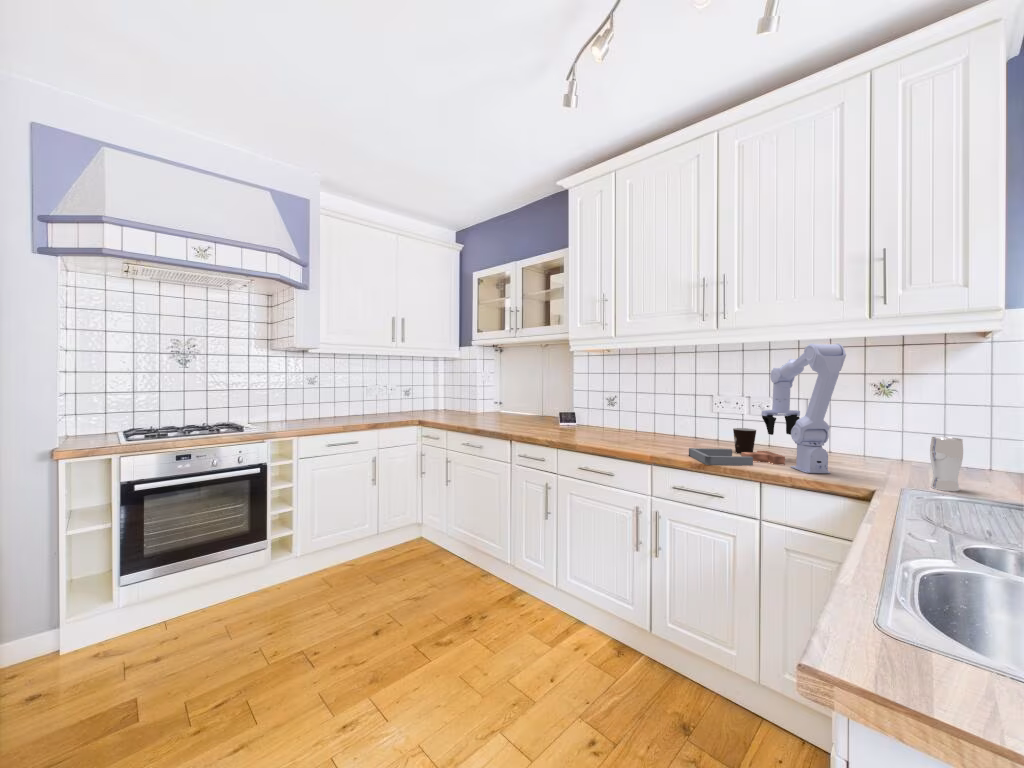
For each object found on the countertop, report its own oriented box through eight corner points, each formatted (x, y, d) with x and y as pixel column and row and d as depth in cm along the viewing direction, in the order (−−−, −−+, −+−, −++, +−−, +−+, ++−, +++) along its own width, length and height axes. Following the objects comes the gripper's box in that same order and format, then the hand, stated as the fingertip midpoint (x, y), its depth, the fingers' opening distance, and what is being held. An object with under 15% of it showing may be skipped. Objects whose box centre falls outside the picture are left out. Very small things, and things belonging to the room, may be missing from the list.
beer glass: (934, 485, 135) (936, 435, 135) (965, 490, 129) (967, 439, 129) (924, 487, 132) (926, 437, 132) (956, 493, 126) (958, 440, 126)
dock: (752, 465, 161) (753, 457, 161) (706, 464, 162) (706, 456, 162) (730, 456, 179) (730, 448, 179) (688, 455, 180) (688, 448, 180)
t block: (767, 458, 176) (767, 450, 176) (784, 464, 164) (784, 456, 164) (736, 457, 176) (736, 450, 176) (751, 464, 164) (751, 456, 164)
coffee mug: (753, 455, 181) (754, 431, 180) (730, 453, 186) (731, 429, 186) (758, 451, 190) (759, 428, 190) (736, 449, 195) (736, 426, 195)
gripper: (791, 398, 176) (789, 432, 177) (756, 398, 175) (755, 432, 176) (804, 400, 169) (803, 435, 170) (768, 400, 168) (767, 435, 169)
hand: (779, 434), depth 172 cm, fingers open, 7 cm apart
